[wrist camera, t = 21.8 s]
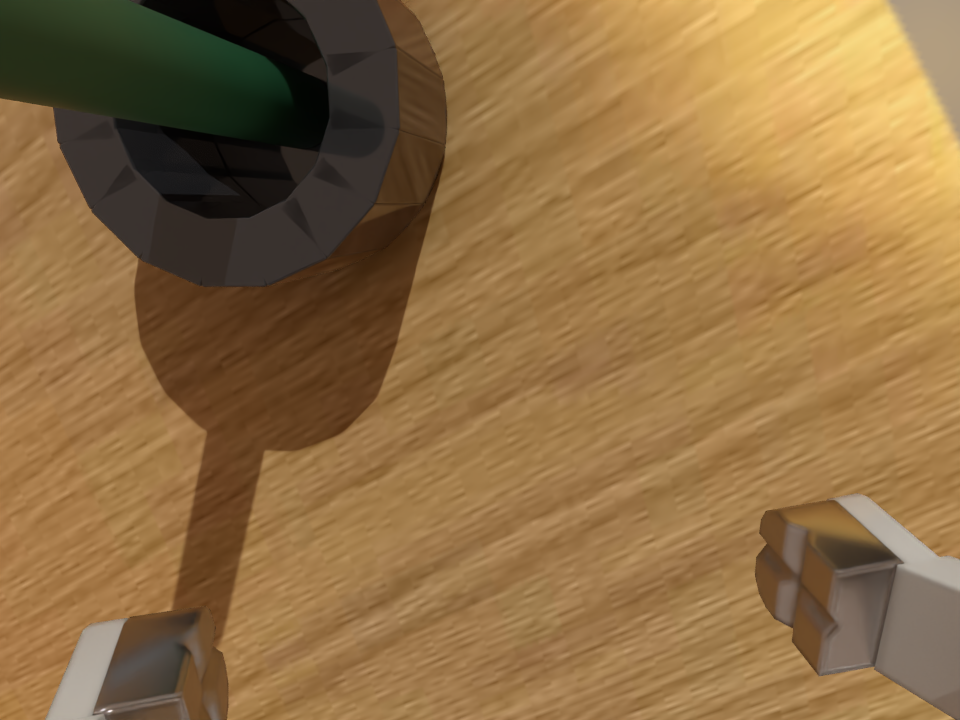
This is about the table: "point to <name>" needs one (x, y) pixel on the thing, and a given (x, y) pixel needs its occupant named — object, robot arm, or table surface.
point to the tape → (276, 150)
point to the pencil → (153, 72)
